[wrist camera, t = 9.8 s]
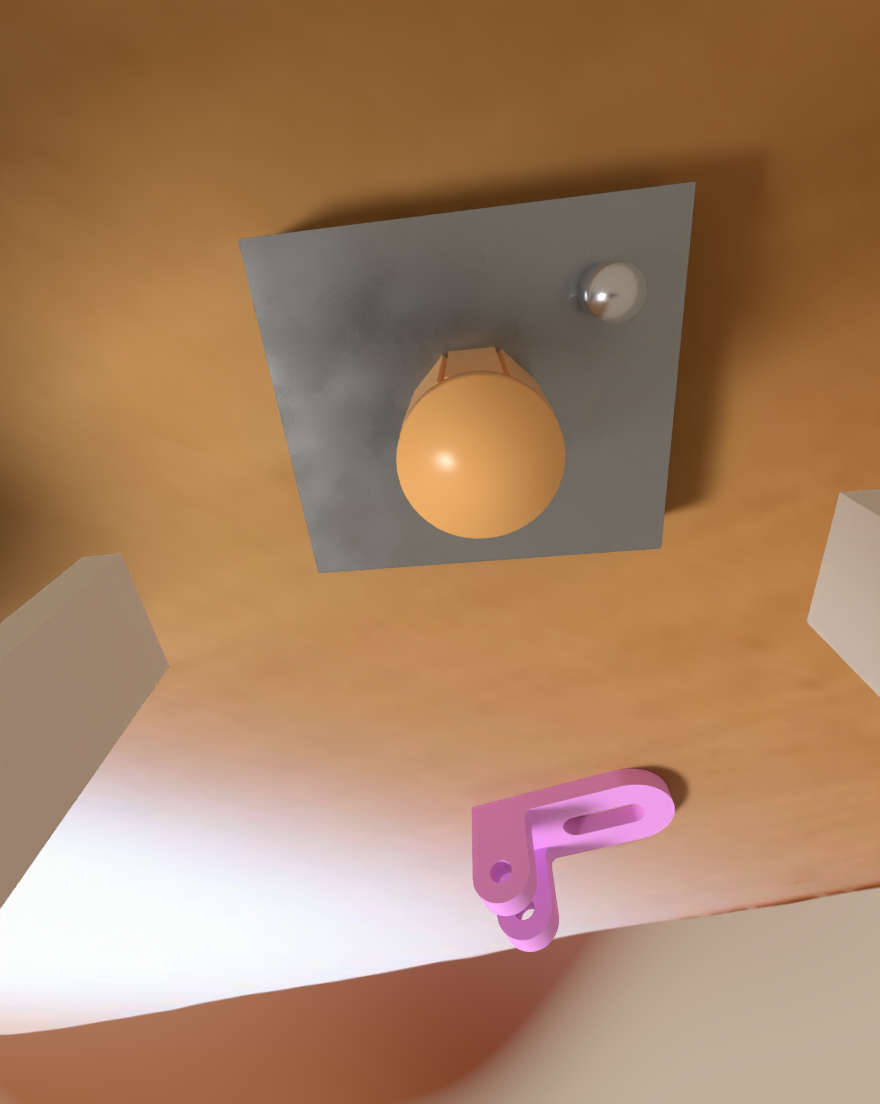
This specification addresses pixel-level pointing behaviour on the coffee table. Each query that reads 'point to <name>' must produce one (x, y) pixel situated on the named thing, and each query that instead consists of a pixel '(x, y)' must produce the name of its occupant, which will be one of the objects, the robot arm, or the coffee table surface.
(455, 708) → the coffee table surface
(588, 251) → the block
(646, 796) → the bracket
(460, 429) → the orange faceted knob
